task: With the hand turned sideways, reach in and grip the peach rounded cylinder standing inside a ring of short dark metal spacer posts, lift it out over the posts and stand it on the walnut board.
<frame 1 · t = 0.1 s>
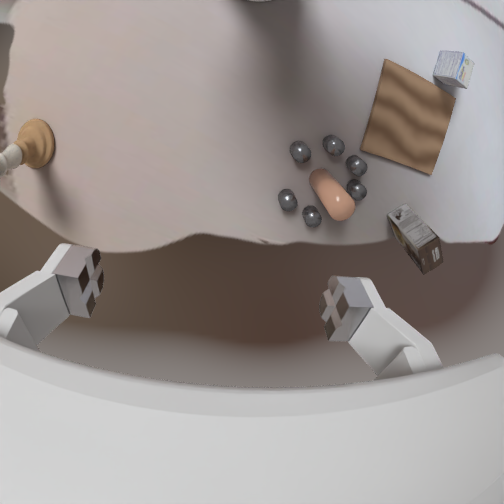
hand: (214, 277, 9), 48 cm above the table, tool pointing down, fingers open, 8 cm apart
walnut board: (411, 119, 49), on the table
spacer posts: (320, 179, 58), on the table
coffee box: (400, 220, 66), on the table
medicine box: (441, 66, 41), on the table
candle holder: (36, 142, 45), on the table
peach rounded cylinder: (330, 192, 52), in the spacer posts
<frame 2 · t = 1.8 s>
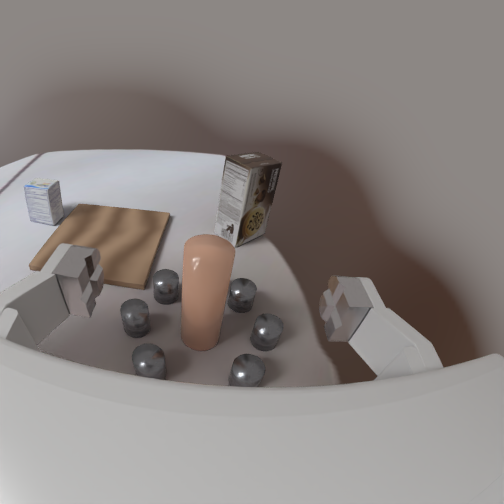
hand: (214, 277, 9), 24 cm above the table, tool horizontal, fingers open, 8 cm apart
walnut board: (103, 240, 46), on the table
spacer posts: (200, 335, 35), on the table
coffee box: (239, 234, 57), on the table
medicine box: (47, 219, 47), on the table
peach rounded cylinder: (203, 298, 31), in the spacer posts
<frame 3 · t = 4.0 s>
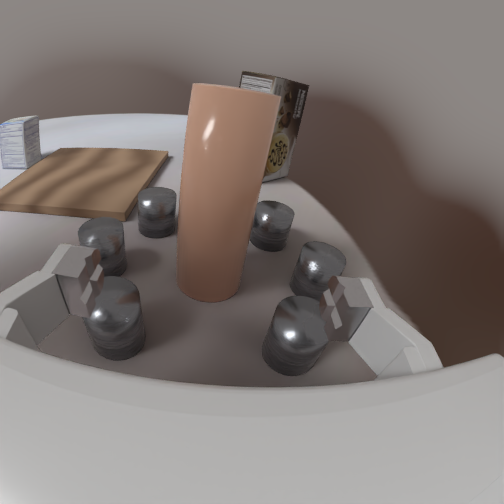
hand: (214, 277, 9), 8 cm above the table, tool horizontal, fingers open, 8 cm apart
walnut board: (81, 176, 33), on the table
spacer posts: (208, 278, 21), on the table
coffee box: (256, 174, 44), on the table
medicine box: (21, 166, 34), on the table
peach rounded cylinder: (218, 196, 17), in the spacer posts
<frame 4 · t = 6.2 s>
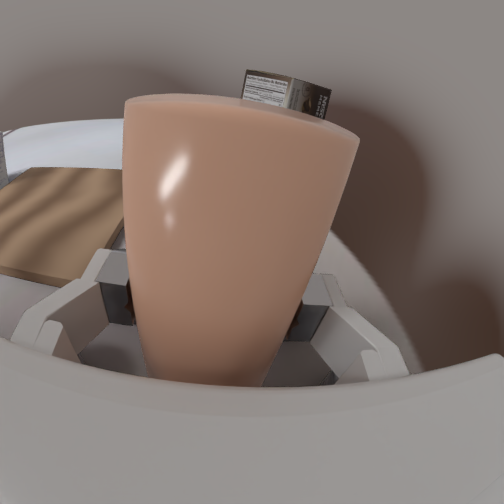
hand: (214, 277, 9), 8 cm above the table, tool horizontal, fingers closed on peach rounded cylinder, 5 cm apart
walnut board: (45, 210, 25), on the table
coffee box: (263, 202, 35), on the table
peach rounded cylinder: (209, 324, 9), in the spacer posts, touching gripper
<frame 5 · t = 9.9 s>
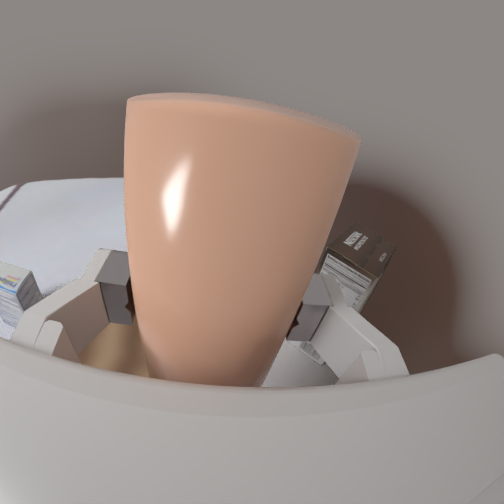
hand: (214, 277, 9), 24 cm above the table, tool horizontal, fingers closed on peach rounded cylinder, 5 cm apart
walnut board: (122, 375, 27), on the table
coffee box: (319, 336, 38), on the table
medicine box: (27, 321, 29), on the table
peach rounded cylinder: (210, 324, 9), point 22 cm above the table, touching gripper
when the fingers open (11 cm above the table, at t = 13.7 s): peach rounded cylinder drops 1 cm, resting on walnut board.
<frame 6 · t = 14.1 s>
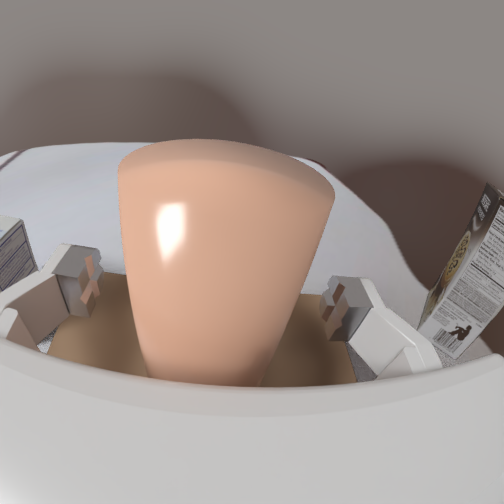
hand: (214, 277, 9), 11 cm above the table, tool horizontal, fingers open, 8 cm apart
walnut board: (199, 415, 15), on the table
coffee box: (440, 325, 25), on the table
medicine box: (13, 315, 16), on the table
peach rounded cylinder: (205, 346, 10), on the walnut board, point 8 cm above the table
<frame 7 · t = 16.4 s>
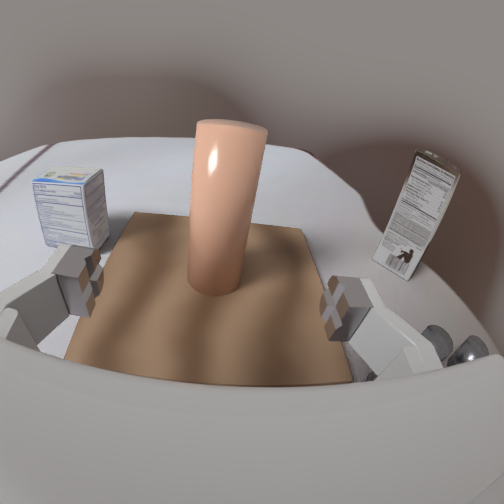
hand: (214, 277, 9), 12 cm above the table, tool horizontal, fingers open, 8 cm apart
walnut board: (212, 285, 27), on the table
spacer posts: (447, 433, 15), on the table
coffee box: (396, 259, 37), on the table
medicine box: (77, 242, 28), on the table
peach rounded cylinder: (220, 211, 22), on the walnut board, point 8 cm above the table
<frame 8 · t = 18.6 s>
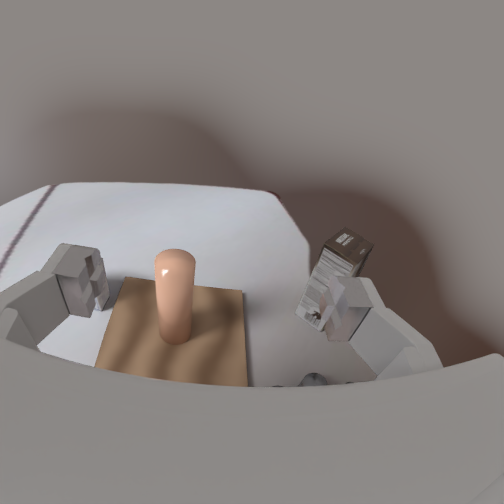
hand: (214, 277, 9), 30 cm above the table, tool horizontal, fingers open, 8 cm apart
walnut board: (174, 335, 41), on the table
spacer posts: (316, 444, 30), on the table
coffee box: (318, 311, 52), on the table
medicine box: (88, 299, 42), on the table
peach rounded cylinder: (174, 301, 37), on the walnut board, point 8 cm above the table
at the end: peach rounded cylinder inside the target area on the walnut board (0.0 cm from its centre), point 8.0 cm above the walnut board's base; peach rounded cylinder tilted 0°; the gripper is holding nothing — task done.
